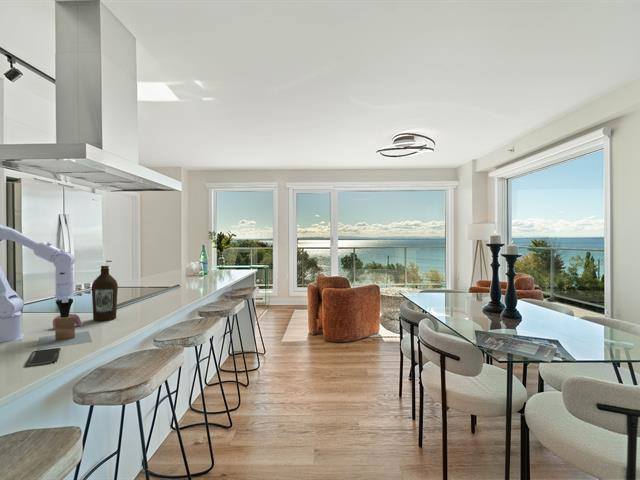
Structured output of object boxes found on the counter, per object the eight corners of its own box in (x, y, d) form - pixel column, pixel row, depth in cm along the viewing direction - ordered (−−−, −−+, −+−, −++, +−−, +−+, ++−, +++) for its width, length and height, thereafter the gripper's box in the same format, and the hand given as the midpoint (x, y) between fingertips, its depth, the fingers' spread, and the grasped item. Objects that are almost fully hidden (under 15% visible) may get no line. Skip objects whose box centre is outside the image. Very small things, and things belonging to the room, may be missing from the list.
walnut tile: (55, 339, 138) (55, 318, 138) (74, 337, 142) (74, 316, 142) (55, 340, 137) (55, 319, 137) (74, 338, 141) (74, 317, 140)
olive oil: (92, 317, 176) (92, 265, 175) (118, 315, 180) (118, 264, 180) (90, 322, 166) (90, 267, 166) (117, 320, 171) (117, 266, 170)
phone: (24, 364, 111) (32, 350, 124) (25, 368, 111) (32, 354, 124) (56, 360, 115) (61, 347, 128) (57, 364, 115) (61, 350, 128)
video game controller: (80, 329, 161) (78, 313, 163) (82, 326, 158) (80, 310, 160) (52, 333, 154) (51, 317, 156) (54, 330, 151) (52, 314, 153)
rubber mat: (39, 338, 141) (39, 337, 141) (88, 332, 151) (88, 331, 151) (37, 350, 127) (37, 349, 127) (92, 342, 136) (92, 341, 136)
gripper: (77, 285, 141) (77, 320, 141) (75, 280, 153) (75, 313, 153) (55, 286, 137) (55, 322, 137) (54, 282, 149) (54, 315, 149)
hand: (64, 318), depth 145 cm, fingers closed
